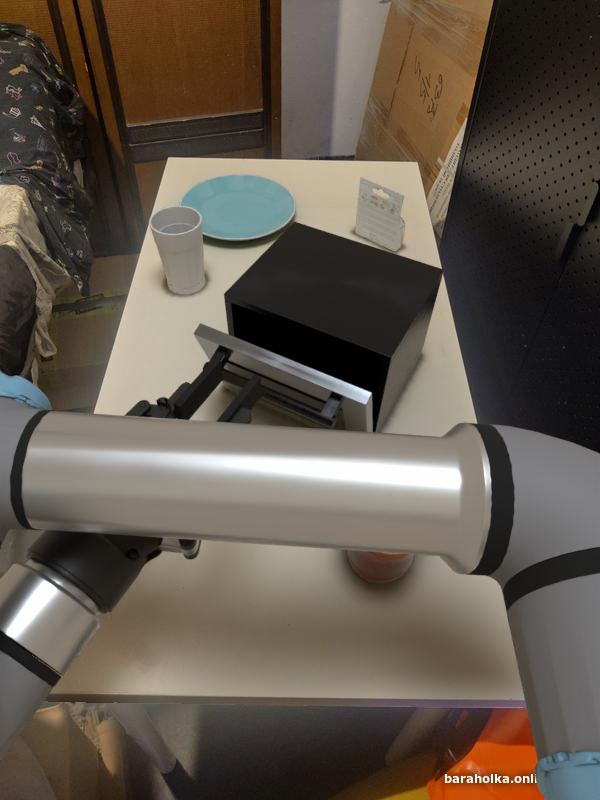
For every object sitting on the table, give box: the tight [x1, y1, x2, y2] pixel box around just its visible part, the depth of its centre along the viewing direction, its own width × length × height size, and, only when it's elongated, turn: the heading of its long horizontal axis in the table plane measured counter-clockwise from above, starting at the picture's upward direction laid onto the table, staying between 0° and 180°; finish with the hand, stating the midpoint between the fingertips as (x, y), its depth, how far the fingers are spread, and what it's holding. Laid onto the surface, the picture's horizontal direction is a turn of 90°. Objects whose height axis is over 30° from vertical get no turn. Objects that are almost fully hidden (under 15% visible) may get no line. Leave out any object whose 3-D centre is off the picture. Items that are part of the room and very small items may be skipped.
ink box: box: [354, 177, 406, 253], centre depth 97 cm, size 3×9×12 cm, turn 50°
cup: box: [148, 205, 206, 295], centre depth 88 cm, size 8×8×12 cm
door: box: [193, 322, 373, 432], centre depth 67 cm, size 5×22×16 cm, turn 62°
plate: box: [178, 173, 297, 242], centre depth 105 cm, size 22×22×3 cm
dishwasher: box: [223, 221, 445, 433], centre depth 75 cm, size 18×22×16 cm
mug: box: [346, 550, 416, 585], centre depth 59 cm, size 12×9×10 cm
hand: (237, 377), depth 53 cm, fingers open, 4 cm apart
